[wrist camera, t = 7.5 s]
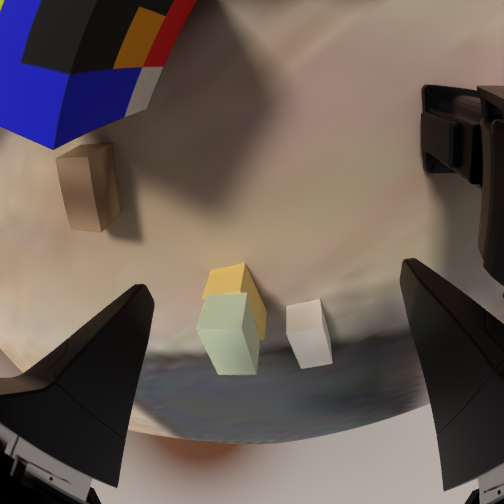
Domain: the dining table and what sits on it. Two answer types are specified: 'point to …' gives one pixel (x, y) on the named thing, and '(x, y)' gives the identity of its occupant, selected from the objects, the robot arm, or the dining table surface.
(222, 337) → the sage brick
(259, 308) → the mustard brick
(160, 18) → the puzzle toy
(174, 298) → the dining table surface
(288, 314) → the grey brick
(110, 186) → the walnut brick
